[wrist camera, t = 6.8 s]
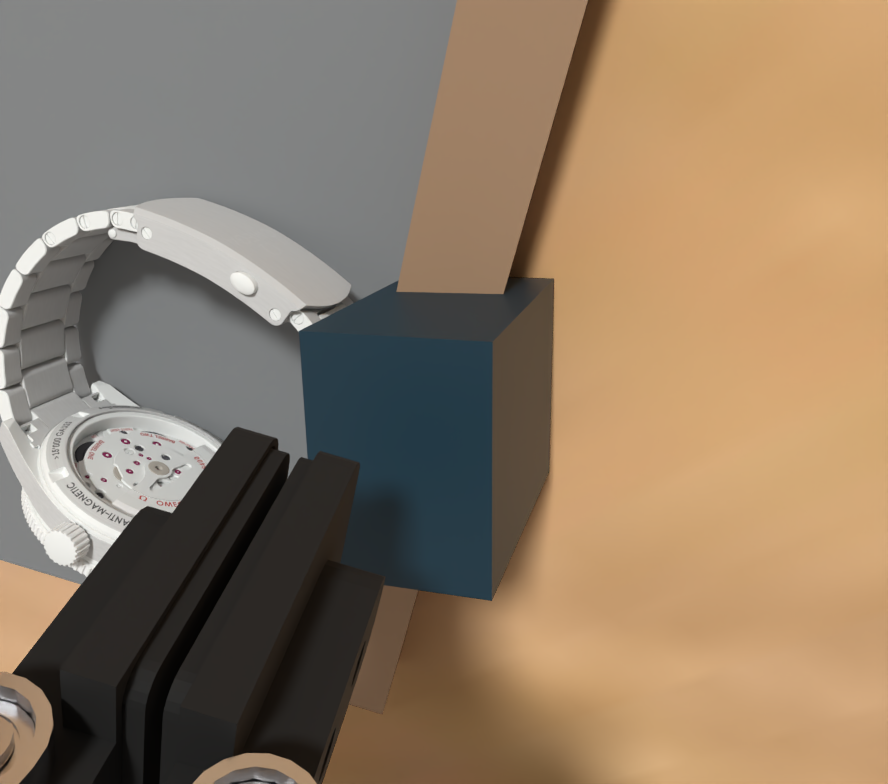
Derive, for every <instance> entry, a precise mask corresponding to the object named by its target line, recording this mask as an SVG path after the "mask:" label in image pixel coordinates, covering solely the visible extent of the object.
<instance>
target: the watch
mask: <svg viewBox="0 0 888 784" xmlns="http://www.w3.org/2000/svg"><path fill="white" fill-rule="evenodd" d="M113 240H121V241H129V242H133V243H137V244H138V246H139V247H140V248H141V249H143V250H145V251H148V252H151V253H153V254H156V255H158V256H161V257H163V258H166V259H168V260H171V261H173V262H175V263H177V264H180V265H182V266H184V267H186V268H188V269H190V270H192V271H194V272H196V273H198V274H200V275H202V276H204V277H205V278H207V279H209V280H210V281H212V282H214V283H215V284H217V285H219V286H220V287H222V288H223V289H225V290H226V291H228V292H229V293H231V294H232V295H234V296H235V297H236V298H238V299H239V300H241V301H242V302H244V303H245V304H246V305H248V306H249V307H250V308H252V309H253V310H254V311H255V312H257V313H258V314H259V315H261V316H262V317H263V318H264V319H266V320H267V321H268V322H269V323H271V324H272V325H275V326H278V325H282V324H284V323H286V322H290V323H292V325H293V326H294V327H295V328H296V329H297V331H298V332H299V341H300V355H301V370H302V384H303V399H304V414H305V428H306V443H307V457H308V459H310V460H314V458H315V456H316V455H317V453H318V452H319V451H322V452H326V453H329V454H333V455H336V456H339V457H343V458H346V459H350V460H353V461H356V462H359V463H360V469H359V475H358V480H357V485H356V490H355V494H354V499H353V504H352V509H351V514H350V519H349V523H348V528H347V533H346V538H345V543H344V548H343V553H342V557H341V562H340V563H341V564H344V565H348V566H351V567H354V568H358V569H361V570H365V571H368V572H371V573H375V574H378V575H381V576H385V582H384V585H386V586H393V587H400V588H407V589H414V590H421V591H428V592H435V593H442V594H449V595H456V596H463V597H470V598H476V599H483V600H490V601H492V599H493V597H494V595H495V593H496V590H497V588H498V586H499V584H500V581H501V579H502V577H503V575H504V572H505V570H506V568H507V566H508V563H509V561H510V559H511V557H512V554H513V552H514V550H515V548H516V545H517V543H518V541H519V539H520V536H521V534H522V532H523V530H524V527H525V525H526V523H527V521H528V518H529V516H530V514H531V512H532V509H533V507H534V505H535V503H536V500H537V498H538V496H539V494H540V491H541V489H542V487H543V485H544V482H545V480H546V478H547V476H548V473H549V459H550V419H551V379H552V339H553V299H554V279H547V278H518V277H508V281H507V284H506V287H505V290H504V293H503V294H478V293H432V292H396V291H397V286H398V281H399V280H398V281H396V282H394V283H392V284H390V285H388V286H386V287H384V288H382V289H380V290H378V291H376V292H374V293H372V294H371V295H369V296H367V297H365V298H363V299H361V300H359V301H357V302H355V303H353V302H352V300H351V299H350V298H349V297H348V294H349V292H350V289H351V284H350V283H349V282H347V281H346V280H345V279H344V278H343V277H342V276H340V275H339V274H338V273H337V272H336V271H334V270H333V269H332V268H331V267H329V266H328V265H327V264H325V263H324V262H323V261H321V260H320V259H319V258H317V257H316V256H315V255H313V254H312V253H311V252H309V251H308V250H306V249H305V248H303V247H302V246H300V245H299V244H297V243H296V242H294V241H293V240H291V239H290V238H288V237H286V236H285V235H283V234H281V233H280V232H278V231H276V230H275V229H273V228H271V227H269V226H267V225H265V224H263V223H261V222H259V221H257V220H255V219H253V218H250V217H248V216H246V215H244V214H241V213H239V212H236V211H234V210H231V209H229V208H226V207H224V206H221V205H218V204H215V203H212V202H209V201H206V200H203V199H200V198H168V199H158V200H152V201H148V202H144V203H141V204H139V205H134V206H127V207H119V208H112V209H107V210H101V211H94V212H89V213H84V214H81V215H78V216H77V217H74V218H69V219H67V220H65V221H63V222H61V223H59V224H57V225H55V226H54V227H52V228H51V229H49V230H48V231H46V232H45V233H44V234H43V235H42V238H39V239H37V240H36V241H35V242H34V243H33V244H32V245H31V246H30V247H29V248H28V249H27V250H26V251H25V253H24V254H23V255H22V256H21V258H20V259H19V261H18V262H17V264H16V269H14V270H12V271H11V273H10V274H9V276H8V278H7V280H6V282H5V284H4V286H3V289H2V291H1V294H0V415H1V419H2V423H1V427H0V442H1V445H2V447H3V449H4V451H5V454H6V456H7V458H8V460H9V462H10V464H11V466H12V469H13V471H14V472H15V474H16V476H17V478H18V480H19V482H20V483H21V485H22V491H21V493H22V494H21V497H22V498H21V501H22V503H21V504H22V506H23V507H22V509H23V510H24V511H23V513H24V514H25V518H26V519H27V520H26V521H27V523H29V527H31V531H32V532H34V535H35V536H37V539H38V540H40V541H41V542H40V543H41V544H43V545H44V549H45V550H46V554H48V555H49V558H50V559H52V560H53V561H54V562H55V563H58V564H59V565H63V566H67V565H68V567H71V568H73V570H75V571H78V572H79V573H80V574H84V575H85V576H86V577H88V575H89V574H90V573H91V571H92V570H93V569H94V568H95V566H96V565H97V564H98V562H99V561H100V560H101V559H102V557H103V556H104V555H105V553H106V552H107V551H108V550H109V548H110V547H111V546H112V544H113V543H114V542H115V540H116V539H117V538H118V537H119V535H120V534H121V533H122V531H123V530H124V529H125V528H126V526H127V525H128V524H129V522H130V521H131V520H132V519H133V517H134V516H135V515H136V514H137V513H138V512H139V511H140V510H141V509H143V508H145V507H147V506H150V507H153V508H157V509H160V510H164V511H167V512H170V513H173V511H174V510H175V508H176V507H177V506H178V504H179V503H180V501H181V500H182V499H183V497H184V496H185V495H186V493H187V492H188V490H189V489H190V488H191V486H192V485H193V483H194V482H195V481H196V479H197V478H198V476H199V475H200V474H201V472H202V471H203V470H204V468H205V467H206V465H207V464H208V463H209V461H210V460H211V458H212V457H213V456H214V454H215V453H216V451H217V450H218V449H219V447H220V446H221V444H222V443H223V441H222V440H221V439H219V438H218V437H216V436H215V435H214V434H212V433H210V432H209V431H207V430H206V429H204V428H202V427H200V426H198V425H196V424H194V423H192V422H190V421H188V420H185V419H183V418H181V417H178V416H171V415H168V414H165V413H163V412H162V411H159V410H154V409H150V408H144V407H140V406H138V405H136V404H135V403H134V402H132V401H131V400H130V399H128V398H127V397H125V396H124V395H123V394H121V393H120V392H119V391H117V390H116V389H115V388H113V387H112V386H111V385H109V384H107V383H104V382H102V381H97V382H95V383H93V384H92V385H91V388H89V386H88V383H87V380H86V376H85V372H84V369H83V366H82V365H81V364H79V363H76V362H75V361H78V360H80V358H81V351H80V344H79V332H78V329H77V328H76V327H75V326H72V325H75V324H77V323H78V322H79V315H80V307H81V301H82V295H81V293H80V292H79V291H80V290H83V289H85V287H86V284H87V282H88V279H89V276H90V274H91V272H92V270H93V268H94V261H93V260H96V259H98V258H99V257H100V256H101V255H102V253H103V252H104V251H105V249H106V248H107V247H108V246H109V245H110V244H111V243H112V241H113Z"/></svg>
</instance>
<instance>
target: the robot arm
mask: <svg viewBox="0 0 888 784" xmlns="http://www.w3.org/2000/svg"><path fill="white" fill-rule="evenodd" d="M278 445H279V443H278V439H277V438H275V437H271V436H268V435H264V434H261V433H257V432H254V431H251V430H247V429H244V428H240V427H235V428H234V429H233V430H232V431H231V432H230V433H229V435H228V436H227V438H226V439H225V440H224V442H223V443H222V444H221V446H220V447H219V449H218V450H217V451H216V453H215V454H214V456H213V457H212V458H211V460H210V461H209V463H208V464H207V465H206V467H205V468H204V470H203V471H202V472H201V474H200V475H199V476H198V478H197V479H196V481H195V482H194V483H193V485H192V486H191V488H190V489H189V490H188V492H187V493H186V495H185V496H184V497H183V499H182V500H181V501H180V503H179V504H178V506H177V507H176V508H175V510H174V511H173V513H170V512H167V511H164V510H160V509H157V508H153V507H150V506H147V507H145V508H143V509H141V510H140V511H139V512H138V513H137V514H136V515H135V516H134V517H133V519H132V520H131V521H130V522H129V524H128V525H127V526H126V528H125V529H124V530H123V531H122V533H121V534H120V535H119V537H118V538H117V539H116V540H115V542H114V543H113V544H112V546H111V547H110V548H109V550H108V551H107V552H106V553H105V555H104V556H103V557H102V559H101V560H100V561H99V562H98V564H97V565H96V566H95V568H94V569H93V570H92V571H91V573H90V574H89V575H88V577H87V578H86V579H85V580H84V582H83V583H82V584H81V586H80V587H79V588H78V589H77V591H76V592H75V593H74V595H73V596H72V597H71V599H70V600H69V601H68V602H67V604H66V605H65V606H64V608H63V609H62V610H61V611H60V613H59V614H58V615H57V617H56V618H55V619H54V620H53V622H52V623H51V624H50V626H49V627H48V628H47V629H46V631H45V632H44V633H43V635H42V636H41V637H40V638H39V640H38V641H37V642H36V644H35V645H34V646H33V647H32V649H31V650H30V651H29V653H28V654H27V655H26V657H25V658H24V659H23V660H22V662H21V663H20V664H19V666H18V667H17V668H16V669H15V671H14V672H13V673H12V674H10V673H7V672H0V784H322V782H323V779H324V776H325V773H326V770H327V767H328V764H329V761H330V758H331V755H332V752H333V749H334V746H335V743H336V740H337V737H338V734H339V731H340V728H341V725H342V723H343V720H344V717H345V714H346V711H347V708H348V705H349V702H350V699H351V696H352V693H353V690H354V687H355V684H356V681H357V678H358V675H359V672H360V669H361V666H362V662H363V659H364V656H365V653H366V650H367V646H368V643H369V639H370V636H371V633H372V629H373V626H374V622H375V618H376V614H377V611H378V607H379V603H380V599H381V595H382V591H383V586H384V582H385V576H381V575H378V574H375V573H371V572H368V571H365V570H361V569H358V568H354V567H351V566H348V565H344V564H341V563H340V562H341V557H342V553H343V548H344V543H345V538H346V533H347V528H348V523H349V519H350V514H351V509H352V504H353V499H354V494H355V490H356V485H357V480H358V475H359V469H360V463H359V462H356V461H353V460H350V459H346V458H343V457H339V456H336V455H333V454H329V453H326V452H322V451H319V452H318V453H317V455H316V456H315V458H314V460H310V459H307V458H303V457H300V458H299V460H298V461H297V463H296V464H295V466H294V468H293V470H292V471H291V473H290V475H289V477H288V470H289V463H290V454H289V453H286V452H283V451H279V450H278ZM287 477H288V478H287Z"/></svg>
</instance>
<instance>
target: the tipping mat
mask: <svg viewBox="0 0 888 784" xmlns="http://www.w3.org/2000/svg"><path fill="white" fill-rule="evenodd" d="M587 3H588V0H0V294H1V291H2V289H3V286H4V284H5V282H6V280H7V278H8V276H9V274H10V273H11V271H12V270H14V269H16V264H17V262H18V261H19V259H20V258H21V256H22V255H23V254H24V253H25V251H26V250H27V249H28V248H29V247H30V246H31V245H32V244H33V243H34V242H35V241H36V240H37V239H39V238H42V235H43V234H44V233H45V232H46V231H48V230H49V229H51V228H52V227H54V226H55V225H57V224H59V223H61V222H63V221H65V220H67V219H69V218H74V217H77V216H78V215H81V214H84V213H89V212H94V211H101V210H107V209H112V208H119V207H127V206H134V205H139V204H141V203H144V202H148V201H152V200H158V199H168V198H200V199H203V200H206V201H209V202H212V203H215V204H218V205H221V206H224V207H226V208H229V209H231V210H234V211H236V212H239V213H241V214H244V215H246V216H248V217H250V218H253V219H255V220H257V221H259V222H261V223H263V224H265V225H267V226H269V227H271V228H273V229H275V230H276V231H278V232H280V233H281V234H283V235H285V236H286V237H288V238H290V239H291V240H293V241H294V242H296V243H297V244H299V245H300V246H302V247H303V248H305V249H306V250H308V251H309V252H311V253H312V254H313V255H315V256H316V257H317V258H319V259H320V260H321V261H323V262H324V263H325V264H327V265H328V266H329V267H331V268H332V269H333V270H334V271H336V272H337V273H338V274H339V275H340V276H342V277H343V278H344V279H345V280H346V281H347V282H349V283H350V284H351V289H350V292H349V294H348V297H349V298H350V299H351V300H352V302H353V303H355V302H357V301H359V300H361V299H363V298H365V297H367V296H369V295H371V294H372V293H374V292H376V291H378V290H380V289H382V288H384V287H386V286H388V285H390V284H392V283H394V282H396V281H398V280H399V281H398V286H397V291H396V292H432V293H478V294H503V293H504V290H505V287H506V284H507V281H508V277H509V274H510V270H511V267H512V263H513V260H514V256H515V253H516V250H517V246H518V243H519V239H520V236H521V232H522V229H523V225H524V222H525V218H526V215H527V211H528V208H529V204H530V201H531V197H532V194H533V191H534V187H535V184H536V180H537V177H538V173H539V170H540V166H541V163H542V159H543V156H544V152H545V149H546V145H547V142H548V138H549V135H550V131H551V128H552V125H553V121H554V118H555V114H556V111H557V107H558V104H559V100H560V97H561V93H562V90H563V86H564V83H565V79H566V76H567V72H568V69H569V66H570V62H571V59H572V55H573V52H574V48H575V45H576V41H577V38H578V34H579V31H580V27H581V24H582V20H583V17H584V13H585V10H586V6H587ZM93 261H94V268H93V270H92V272H91V274H90V276H89V279H88V282H87V284H86V287H85V289H83V290H80V291H79V292H80V293H81V295H82V301H81V307H80V315H79V322H78V323H77V324H75V325H72V326H75V327H76V328H77V329H78V332H79V344H80V351H81V358H80V360H78V361H75V362H76V363H79V364H81V365H82V366H83V369H84V372H85V376H86V380H87V383H88V386H89V388H91V385H92V384H93V383H95V382H97V381H102V382H104V383H107V384H109V385H111V386H112V387H113V388H115V389H116V390H117V391H119V392H120V393H121V394H123V395H124V396H125V397H127V398H128V399H130V400H131V401H132V402H134V403H135V404H136V405H138V406H140V407H144V408H150V409H154V410H159V411H162V412H163V413H165V414H168V415H171V416H178V417H181V418H183V419H185V420H188V421H190V422H192V423H194V424H196V425H198V426H200V427H202V428H204V429H206V430H207V431H209V432H210V433H212V434H214V435H215V436H216V437H218V438H219V439H221V440H222V441H223V442H224V440H225V439H226V438H227V436H228V435H229V433H230V432H231V431H232V430H233V429H234V428H235V427H240V428H244V429H247V430H251V431H254V432H257V433H261V434H264V435H268V436H271V437H275V438H277V439H278V443H279V445H278V450H279V451H283V452H286V453H289V454H290V463H289V470H288V477H289V475H290V473H291V471H292V470H293V468H294V466H295V464H296V463H297V461H298V460H299V458H300V457H303V458H307V459H308V457H307V443H306V428H305V414H304V399H303V384H302V370H301V355H300V341H299V332H298V331H297V329H296V328H295V327H294V326H293V325H292V323H290V322H286V323H284V324H282V325H278V326H275V325H272V324H271V323H269V322H268V321H267V320H266V319H264V318H263V317H262V316H261V315H259V314H258V313H257V312H255V311H254V310H253V309H252V308H250V307H249V306H248V305H246V304H245V303H244V302H242V301H241V300H239V299H238V298H236V297H235V296H234V295H232V294H231V293H229V292H228V291H226V290H225V289H223V288H222V287H220V286H219V285H217V284H215V283H214V282H212V281H210V280H209V279H207V278H205V277H204V276H202V275H200V274H198V273H196V272H194V271H192V270H190V269H188V268H186V267H184V266H182V265H180V264H177V263H175V262H173V261H171V260H168V259H166V258H163V257H161V256H158V255H156V254H153V253H151V252H148V251H145V250H143V249H141V248H140V247H139V246H138V244H137V243H133V242H129V241H121V240H113V241H112V243H111V244H110V245H109V246H108V247H107V248H106V249H105V251H104V252H103V253H102V255H101V256H100V257H99V258H98V259H96V260H93ZM1 423H2V419H1V415H0V427H1ZM288 477H287V478H288ZM21 491H22V485H21V483H20V482H19V480H18V478H17V476H16V474H15V472H14V471H13V469H12V466H11V464H10V462H9V460H8V458H7V456H6V454H5V451H4V449H3V447H2V445H1V442H0V560H3V561H6V562H9V563H13V564H16V565H19V566H22V567H26V568H29V569H32V570H35V571H39V572H42V573H45V574H49V575H52V576H55V577H58V578H62V579H65V580H68V581H72V582H75V583H78V584H82V583H83V582H84V580H85V579H86V578H87V577H86V576H85V575H84V574H80V573H79V572H78V571H75V570H73V568H71V567H68V565H67V566H63V565H59V564H58V563H55V562H54V561H53V560H52V559H50V558H49V555H48V554H46V550H45V549H44V545H43V544H41V543H40V542H41V541H40V540H38V539H37V536H35V535H34V532H32V531H31V527H29V523H27V521H26V520H27V519H26V518H25V514H24V513H23V511H24V510H23V509H22V507H23V506H22V504H21V503H22V501H21V498H22V497H21V494H22V493H21ZM417 593H418V590H414V589H407V588H400V587H393V586H386V585H384V586H383V591H382V595H381V599H380V603H379V607H378V611H377V614H376V618H375V622H374V626H373V629H372V633H371V636H370V639H369V643H368V646H367V650H366V653H365V656H364V659H363V662H362V666H361V669H360V672H359V675H358V678H357V681H356V684H355V687H354V690H353V693H352V696H351V699H350V702H349V704H350V705H353V706H356V707H360V708H363V709H366V710H370V711H373V712H376V713H379V714H383V711H384V707H385V704H386V700H387V697H388V693H389V690H390V687H391V683H392V680H393V676H394V673H395V670H396V666H397V663H398V659H399V656H400V652H401V649H402V645H403V642H404V638H405V635H406V631H407V628H408V625H409V621H410V618H411V614H412V611H413V607H414V604H415V600H416V597H417Z"/></svg>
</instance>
